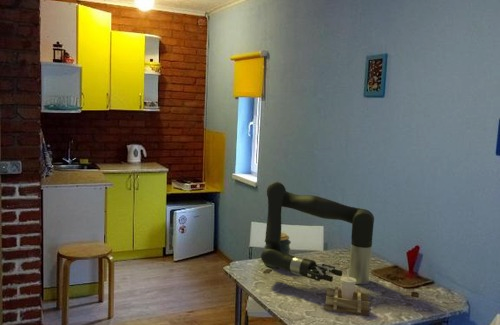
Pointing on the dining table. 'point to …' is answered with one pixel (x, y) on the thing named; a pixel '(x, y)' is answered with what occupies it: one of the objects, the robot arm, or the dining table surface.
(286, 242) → the canister
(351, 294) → the smoothie
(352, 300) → the wooden grid tray
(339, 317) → the dining table surface
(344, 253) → the dining table surface
